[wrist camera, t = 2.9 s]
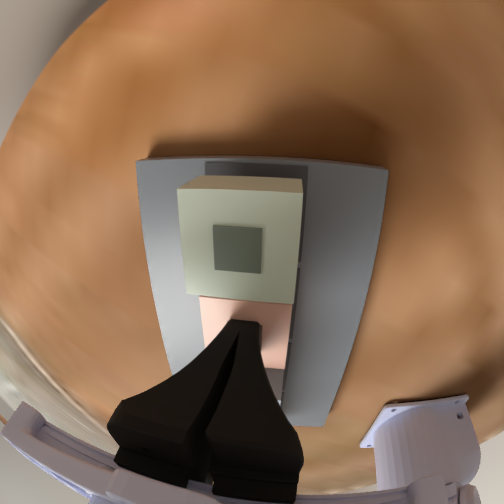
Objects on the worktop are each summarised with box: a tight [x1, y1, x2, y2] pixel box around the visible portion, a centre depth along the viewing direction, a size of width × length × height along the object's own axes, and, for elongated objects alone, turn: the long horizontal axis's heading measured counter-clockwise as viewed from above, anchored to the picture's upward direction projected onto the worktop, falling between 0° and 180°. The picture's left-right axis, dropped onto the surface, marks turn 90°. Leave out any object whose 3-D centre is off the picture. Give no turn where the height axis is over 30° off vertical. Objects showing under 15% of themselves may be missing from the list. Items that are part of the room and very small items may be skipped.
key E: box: [177, 175, 303, 304], centre depth 11 cm, size 4×4×2 cm
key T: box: [199, 295, 292, 369], centre depth 14 cm, size 4×4×2 cm
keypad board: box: [136, 155, 389, 427], centre depth 17 cm, size 12×20×1 cm, turn 179°
